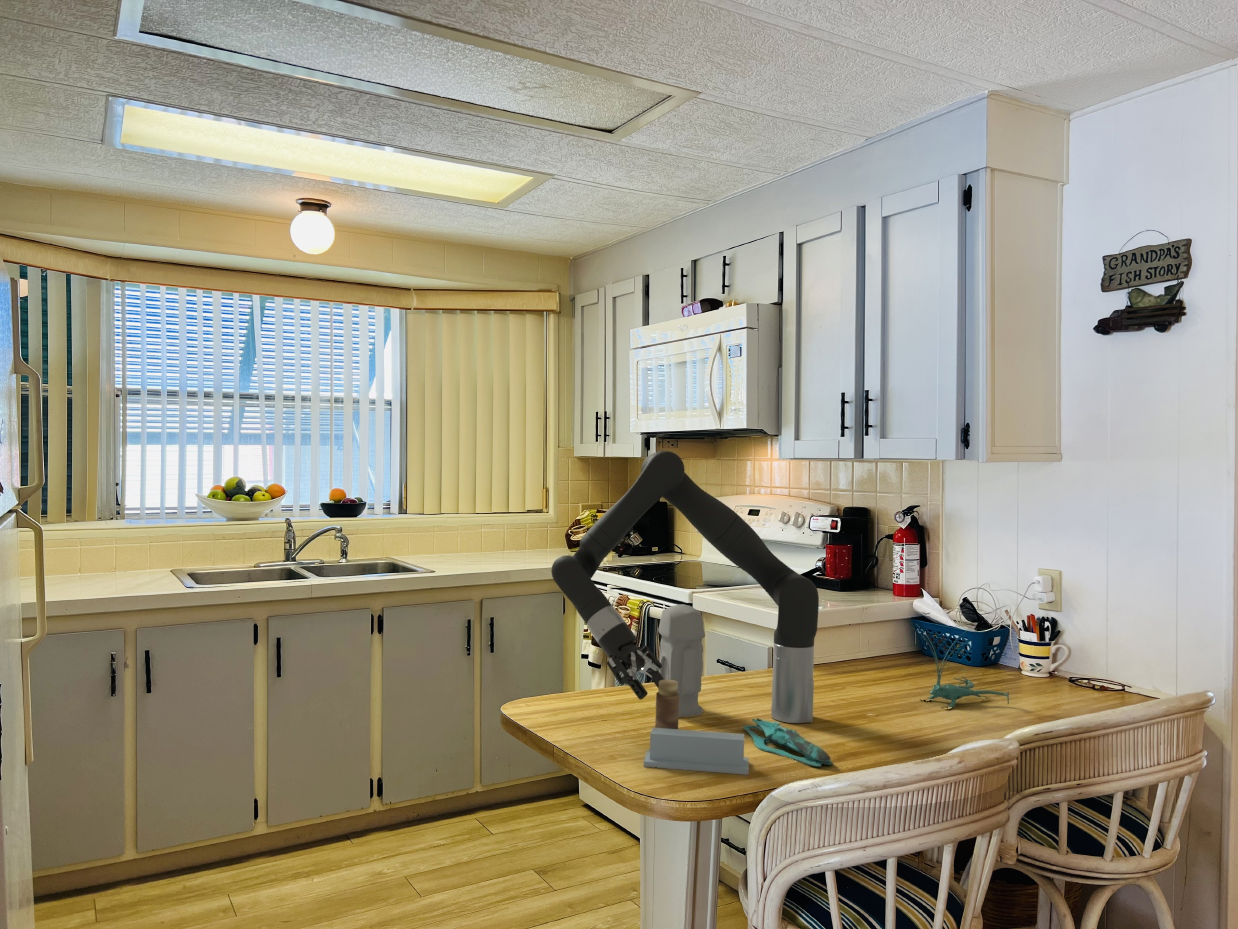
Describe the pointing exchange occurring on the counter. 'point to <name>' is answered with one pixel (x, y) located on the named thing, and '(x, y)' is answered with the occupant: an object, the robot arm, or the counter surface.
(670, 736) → the rail
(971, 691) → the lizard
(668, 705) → the pepper mill
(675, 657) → the grey moai statue
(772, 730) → the toy spaceship
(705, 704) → the counter surface
